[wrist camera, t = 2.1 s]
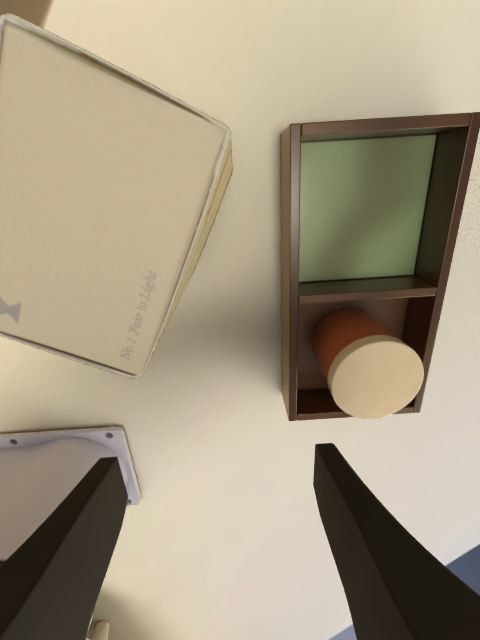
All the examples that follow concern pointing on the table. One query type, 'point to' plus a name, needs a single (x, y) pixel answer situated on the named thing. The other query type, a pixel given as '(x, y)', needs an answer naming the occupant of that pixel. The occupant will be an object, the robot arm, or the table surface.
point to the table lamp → (101, 631)
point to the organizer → (367, 235)
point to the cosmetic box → (97, 200)
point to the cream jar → (366, 364)
